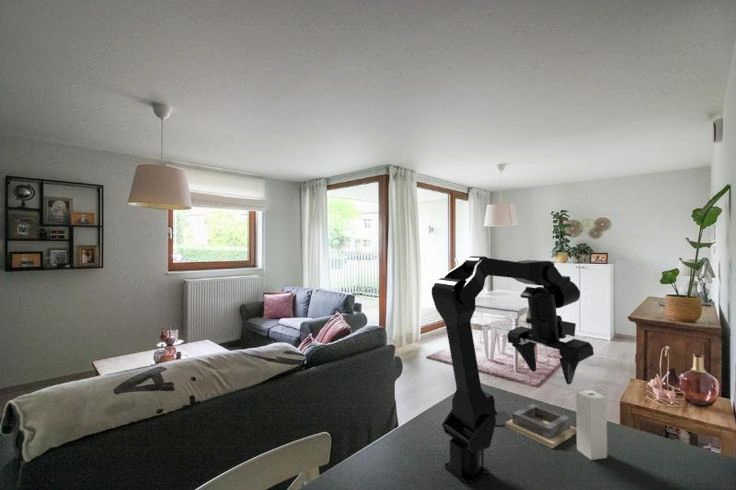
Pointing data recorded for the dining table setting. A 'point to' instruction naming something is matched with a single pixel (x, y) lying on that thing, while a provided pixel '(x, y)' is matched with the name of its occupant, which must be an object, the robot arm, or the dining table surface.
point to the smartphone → (502, 418)
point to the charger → (591, 424)
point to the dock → (541, 425)
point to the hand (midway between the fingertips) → (550, 377)
